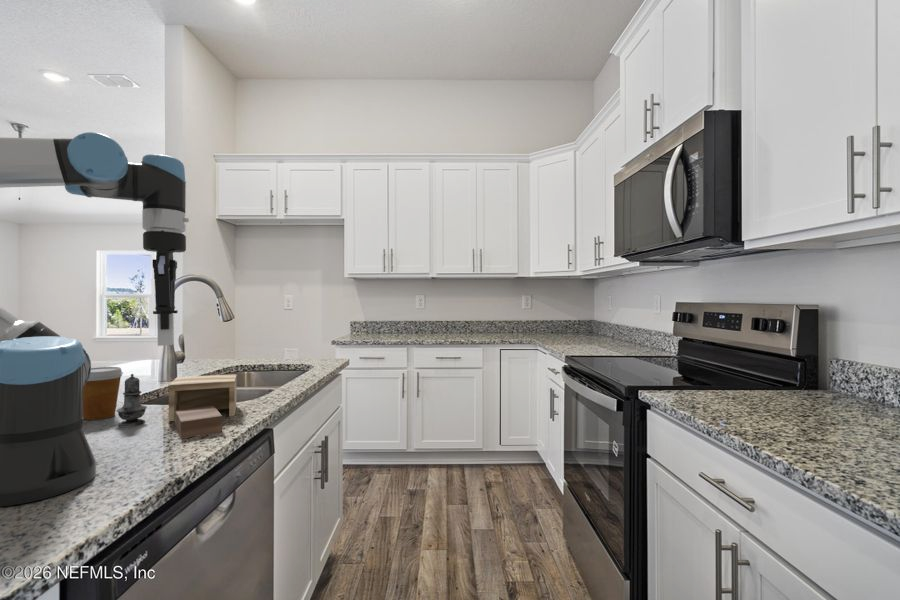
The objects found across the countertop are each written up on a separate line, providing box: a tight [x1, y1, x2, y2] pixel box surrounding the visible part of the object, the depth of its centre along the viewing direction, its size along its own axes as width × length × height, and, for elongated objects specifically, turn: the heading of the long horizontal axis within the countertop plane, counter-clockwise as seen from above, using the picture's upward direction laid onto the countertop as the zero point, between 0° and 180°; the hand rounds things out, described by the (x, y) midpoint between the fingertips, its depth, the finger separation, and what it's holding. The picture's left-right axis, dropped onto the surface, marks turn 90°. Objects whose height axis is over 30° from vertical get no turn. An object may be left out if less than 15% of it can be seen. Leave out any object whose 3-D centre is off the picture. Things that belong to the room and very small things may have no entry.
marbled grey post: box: [116, 373, 148, 427], centre depth 105 cm, size 6×6×12 cm
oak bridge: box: [168, 373, 238, 423], centre depth 114 cm, size 11×14×9 cm
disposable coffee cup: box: [83, 366, 124, 421], centre depth 110 cm, size 10×10×12 cm
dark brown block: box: [174, 405, 223, 439], centre depth 101 cm, size 12×8×4 cm, turn 37°
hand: (165, 344), depth 91 cm, fingers closed
